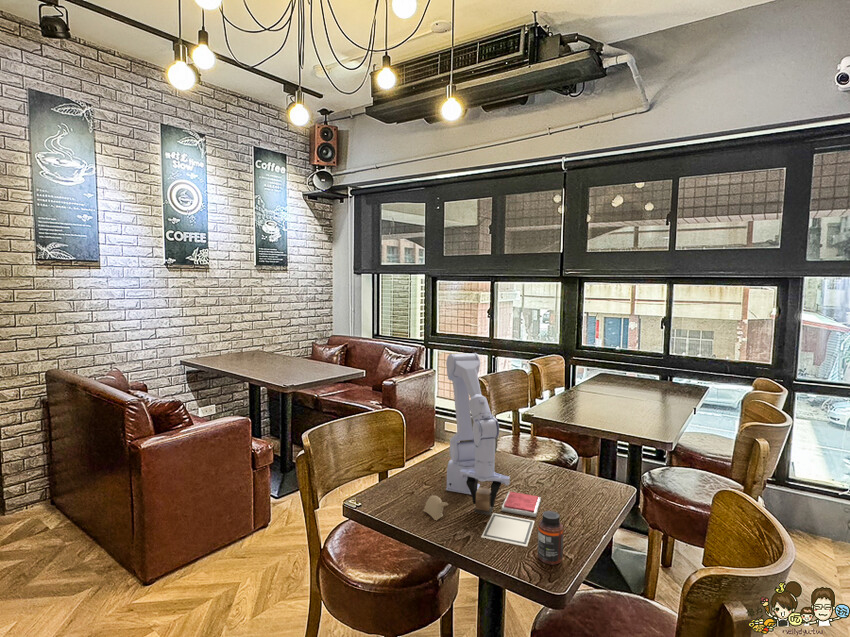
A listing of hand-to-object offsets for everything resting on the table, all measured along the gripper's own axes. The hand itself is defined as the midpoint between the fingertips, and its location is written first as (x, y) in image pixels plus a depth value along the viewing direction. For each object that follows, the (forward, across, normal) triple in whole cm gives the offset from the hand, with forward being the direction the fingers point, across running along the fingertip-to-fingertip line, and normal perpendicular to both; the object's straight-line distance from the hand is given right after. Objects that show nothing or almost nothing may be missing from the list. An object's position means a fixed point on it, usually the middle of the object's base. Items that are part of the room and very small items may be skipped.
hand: (483, 503), depth 142 cm
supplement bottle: (+2, +21, -18) cm, 28 cm away
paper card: (+2, +9, -8) cm, 12 cm away
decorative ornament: (+2, -12, -8) cm, 15 cm away
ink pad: (+2, +10, +7) cm, 12 cm away
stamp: (+2, 0, 0) cm, 2 cm away
